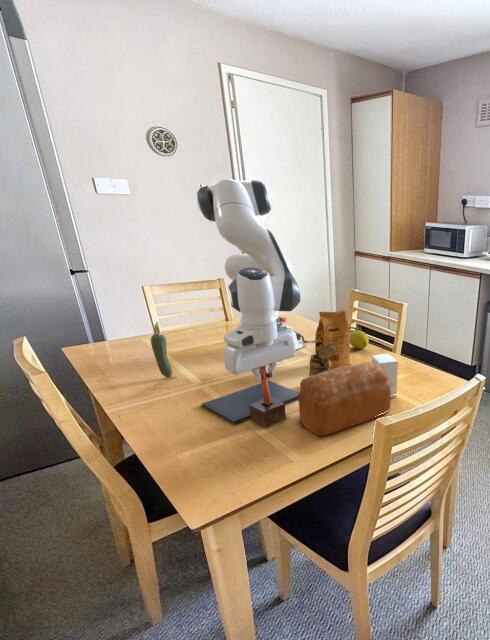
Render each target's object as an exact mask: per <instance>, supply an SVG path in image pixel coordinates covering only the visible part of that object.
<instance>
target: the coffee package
mask: <svg viewBox="0 0 490 640" xmlns="http://www.w3.org/2000/svg"><path fill="white" fill-rule="evenodd" d="M318 315H319V321H318V324H317V327H316V332H315V337H314V341H315V342H314V345H315V346H314V350H315V354H318V353H319V351H320V350H321V349H322V348H324V347H326V346H328V345H332V346H335V347H336V351H335V353H334V355H333V356H332V357H331V358H330V362H331V366H330V368H331V370H332V369H334V368H337V367H342V366H348V365H351V344H350V335H349V334H350V329H349V327H350V325H349V322H348V319H347V313H346V309H345V308H342V309H339V310H336V311H319V314H318Z"/></svg>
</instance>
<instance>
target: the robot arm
mask: <svg viewBox="0 0 490 640" xmlns="http://www.w3.org/2000/svg"><path fill="white" fill-rule="evenodd" d="M196 204H197V208H198V210H199V211H200V213H201V214H202V215H203V217H204V218H205V219H206V220H208V221H209V222H214V223H215V224H216V227H217V230H218V233H219V234H220V237H222V238H223V240H225V241H226V242H228V243H229V244H231V245H233V246H234V247H236V248H237V250H239V251H240V252H242V253H238V254H237V253H236V254H231V255H228V257H227V258H226V260H225V262H224V270H225V273H226V276H227V277H228V278H229V279H230V280H231V282H230V284H229V285H228V286H227V288H228V290H229V292H230V306H231V308H232V309H234V310H235V311H237V312H239V313H240V315H241V317H240V325H238V326H237V327H236V328H233V330H230V331H229V332H227V333H226V334H224V335H223V340H224V343H226V345H225V346H224V348H223V349H224V350H223V357H224V358H223V359H224V367H225V369H226V371H227V372H228V373H230V374H232V375H236V376H237V375H240V374H243V373H246V372H249V371H251V372H252V373H253V374H254V375H255V380H256V382H258V383H261V381H264V375H263V374H260V373H259V371H260V367H262V366H265V367H266V366H268V367H267V369H266V374H267V380H269V379H272V378H274V376H275V375H274V372H275V370H276V367H277V363H278V362H281V361H284V360H287V359H291V358H294V357H295V355H296V353H297V352H296V350H298V349H300V348H303V347H304V344H303V342H304V343H309V340H308V341H307V340H305V338H304V336H303V335H302V334H301V333H300V332H297V331H295V330H293V329H292V328H291V327H290V326H288V325H284V324H283V323H287V322H288V319H287V317H284V316H282V317H281V316H279V312H292V311H293V310H294V309H296V308H297V306H298V305H299V304H300V303H301V291H300V288H299V284H298V282H297V280H296V279H295V277H294V267H293V264H292V262H291V260H290V259H288V258H287V257H285V256H284V254H283V252H282V250H281V248H280V246H279V244H278V241H277V240H276V237H275V236H274V234H273V232H272V231H271V230H270V229H268V228H266V227H264V225H263V223H262V220H261V217H262V216H265V215H267V214H269V213H270V212H271V210H272V205H273V198H272V193H271V191H270V190H269V188H268V187H267V186H266V183H265V182H263V181H262V180H258V179H251V180H235V179H232V178H226V179H224V178H223V179H221V180H220V181H217V183H216V184H213V185H209V184H207V185H204V186H201V187H200V188H199V189H198V191H197V192H196ZM350 329H351V330H352V329H354V330H355V331H359V329H358V328H357V327H354V326H349V330H350ZM301 341H302V342H301ZM312 343H315V340H314V341H312Z"/></svg>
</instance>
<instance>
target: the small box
mask: <svg viewBox="0 0 490 640" xmlns="http://www.w3.org/2000/svg"><path fill="white" fill-rule="evenodd" d="M371 363H373V364H376V365H377V366H378V367H380V368H381V369H382V370H383V371H384V372H385V373H386V374H387V376H388V382H389V385H390V392H391V395H392V396H390V399H393V398H397V395H398V394H397V393H398V366H399V361H398V360H397V359H395V358H394V357H393V356H392V355H391V354H389V353H384V354H374V355H371ZM393 394H397V395H393Z"/></svg>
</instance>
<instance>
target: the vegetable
mask: <svg viewBox="0 0 490 640" xmlns="http://www.w3.org/2000/svg"><path fill="white" fill-rule="evenodd" d="M150 345H151V349H152V352H153V355H154V358H155V361H156V364H157V367H158V370H159V372H160V373H161V375H162V376H163V377H165V378H166V379H169V378H172V377H173V375H174V374H173V369H172V366H171V362H170V360H169V358H168V351H167V339H166V337H165V336H164V335H163V334H162V333H161V327H160V324H159V321H155V324H154V328H153V334H152V335H151V337H150Z"/></svg>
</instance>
